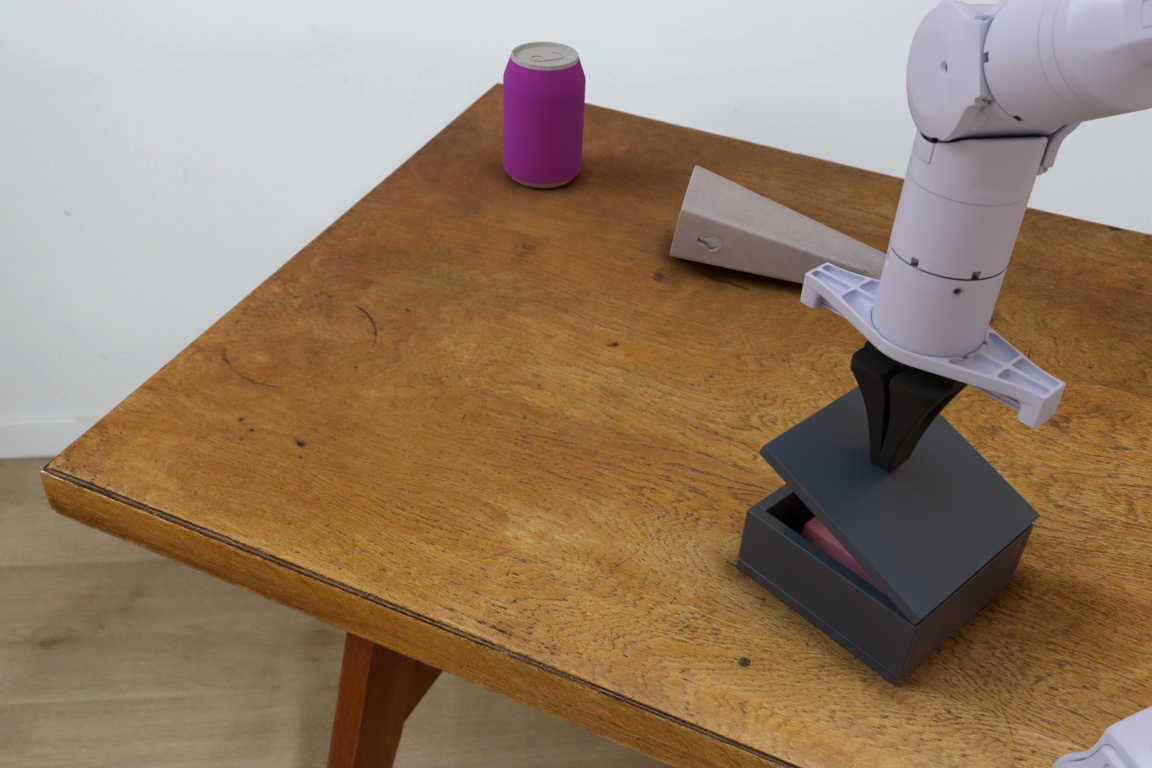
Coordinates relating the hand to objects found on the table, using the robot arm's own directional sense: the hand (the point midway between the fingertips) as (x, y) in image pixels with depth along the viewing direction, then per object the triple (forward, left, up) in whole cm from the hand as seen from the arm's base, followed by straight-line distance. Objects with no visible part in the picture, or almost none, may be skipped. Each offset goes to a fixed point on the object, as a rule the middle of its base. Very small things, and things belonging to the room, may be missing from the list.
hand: (889, 459), depth 63 cm
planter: (+23, -26, -9) cm, 36 cm away
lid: (-1, 0, -1) cm, 2 cm away
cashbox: (-1, 0, -8) cm, 9 cm away
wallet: (-1, 0, -8) cm, 8 cm away
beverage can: (+52, -19, -9) cm, 56 cm away
